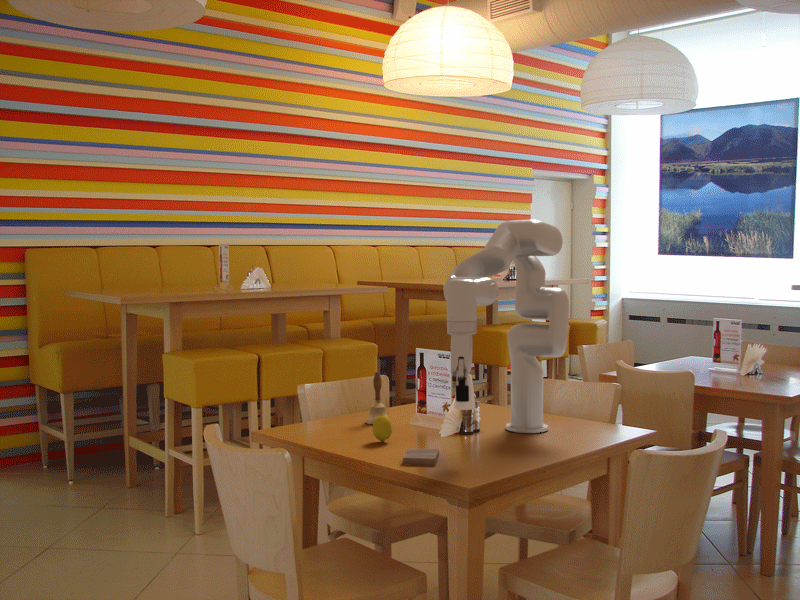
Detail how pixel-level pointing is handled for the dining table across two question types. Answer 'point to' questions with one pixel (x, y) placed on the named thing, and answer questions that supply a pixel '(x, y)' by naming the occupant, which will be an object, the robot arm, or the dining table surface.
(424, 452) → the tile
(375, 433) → the lemon
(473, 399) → the pepper shaker
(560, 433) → the dining table surface
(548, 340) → the robot arm
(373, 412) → the hand bell
